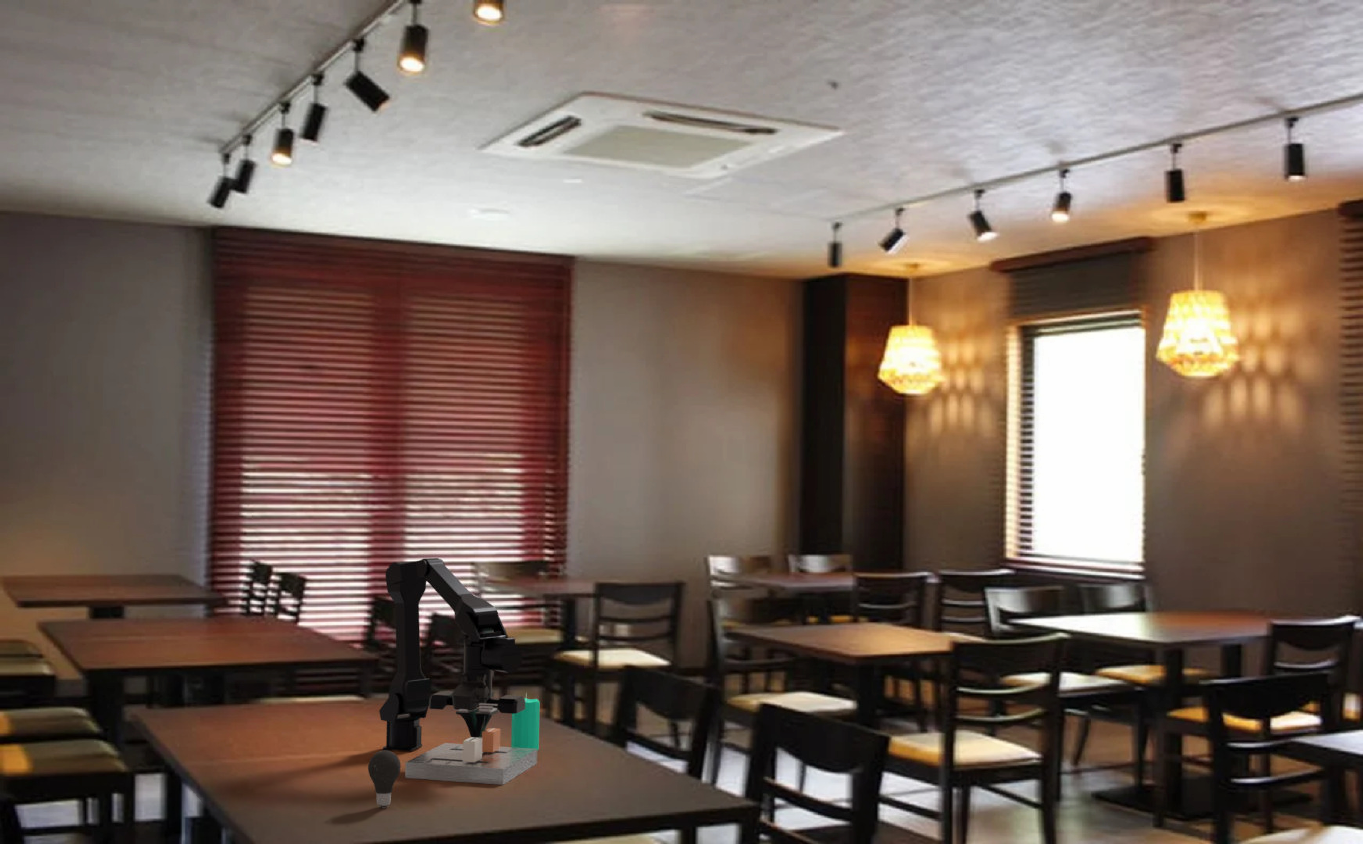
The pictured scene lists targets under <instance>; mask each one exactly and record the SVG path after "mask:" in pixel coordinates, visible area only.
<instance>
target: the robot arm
mask: <svg viewBox="0 0 1363 844" xmlns="http://www.w3.org/2000/svg"><path fill="white" fill-rule="evenodd" d="M385 583H386V591H387V593H388V595H389V597H390V598H391V600H392V601H393V603H394V606H395V607H394V609H395V613H394V614H395V615H394V616H395V644H396V645H395V646H396V647H395V650H396V673H395V675H394V677H393V679H392V681H391V683H390V685H389V692H388V698H387V699H386V700H385V702H384V703H383V705H382V706H381V707H380V709H379V717H380V720H381V721H384V722H386V732H385V733H386V737H385V738H386V740H385V744H386V745H385V746H382V751H384V750H387V751H399V752H400V751H401V752H412V751H414V750H417V749H419V748H421V747H422V746H423V743H422V734H423V733H422V730H423V729H422V728H423V727H422V726H421V725H420V724H421V721H420V719H426V718H427V715H428V709H429V710H444V709H445V708H447V706H453V707H452V708H453V709H454V710H457V711H455V714H456V715H458V716H461V718H462V719H463V720H464V722H465V725H466V727H467V729H468V732H469V735H470V737H478V738H482V731H484V730H486V728H487V726H488V724H489V722H490V720H491V718H492V716H493V715H495V714H497V713H501V714H511V715H512V714H515V713H519V712H521V711H523V710H525V699H524V697H523V695H514V694H513V695H512V694H505V695H503V696H501V697H499V698H493V697H494V693H495V692H494V691H493V688H492V687H493V678H494V677H495V671H497V672H501V673H502V672H503V673H508V674H513V673H515V672H517V671H518V670H519V669H520V667H521V665H522V662H523V658H524V657H523V653H522V650H521V648H520V647H519V646H518V645H517V644H516V638H514V637H509V636H508V633H507V629H506V628H505V627H504V625H503V622H502V620H501V618H500V616H499V611H498V610H497V608H496V607H495V606H494V605H492V604H491V603H490V602H488V601H487V600H485V599H483V598H480V597H478V596H475V595H474V594H472V593H471V592H470V590H469V589H468V588H467V587H465V585H464V584H463V583H462V582H461V581H460V580H459V579H458V578H457V576H455V575H454V574H453V572H451V570H450V569H449V568H448V567H447V566H446V564H445V562H444V560H443V559H441V558H438V557H431V558H430V557H429V558H428V557H427V558H422V559H420V560H413V561H393V562H391V563H390V564H389V566H388V568H386V570H385ZM427 583H428V584H429V585H430V587H432V589H433V590H434V591H435V592H436V593H437V594H438V595H439V596H440V597H441V598H442V599H443V601H445V603H446V604H447V605H448V606H449V607H450V608H451V609H452V610H453V612H454V621H455V623H456V624H457V625H458V627H459V628H460V630H461V632H462V633H463V635H462V636H460V637H459V638H458V639H457V644H458V645H459V644H460V645H463V646H464V647H463V673H462V674H461V676H460V682H459V684H458V685H457V686H456V688H454V690H453V691H441V690H440V691H438V692H435V693H433V694H432V689H431V688H432V681H431V679H430V678H429V677H428V678H426V676H425V675H424V674H423V671H422V669H421V668H422V667H421V666H422V665H421V664H422V663H421V639H420V638H421V636H420V634H421V633H420V601H421V600H422V598H423V596H424V594H425V592H426V588H427Z"/></svg>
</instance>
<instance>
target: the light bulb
mask: <svg viewBox="0 0 1363 844" xmlns="http://www.w3.org/2000/svg"><path fill="white" fill-rule="evenodd" d="M367 769H368V774H369V777H370V779H371V781H372V783H373V785H374V790H375V793H376V798H375V799H376V800H375V801H376V805H377V806H379V807H380V808H381V807H382V808H381V809H386V808H387V806H389V805H390V804H391V801H392V799H391V797H392V792H393V787H394V784H395V783H396V782H397V781H396V780H397V779H398V777H399V775H400V772H401V761H400V758H399V757H398V756H397V754H395V752H393V751H392V750H380V751H377V752H375V753H374V754H373V755H372V756H371V758H370V760H369V762H368V765H367ZM385 807H386V808H385Z"/></svg>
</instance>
